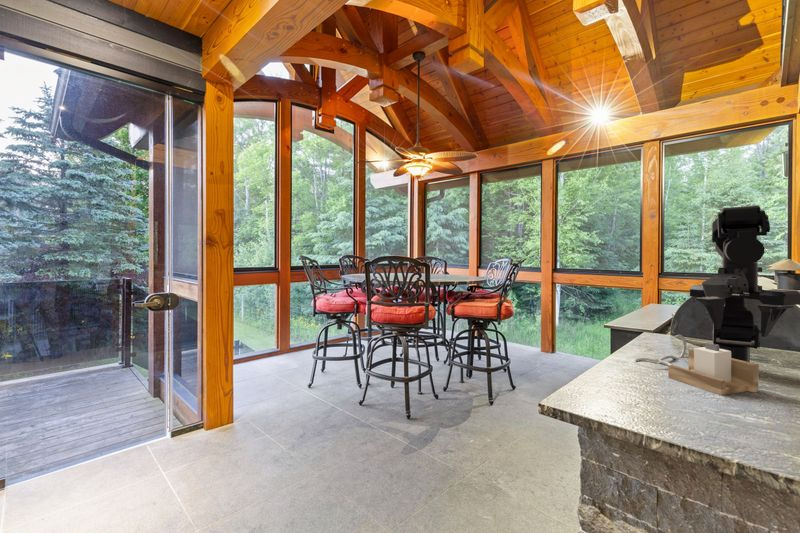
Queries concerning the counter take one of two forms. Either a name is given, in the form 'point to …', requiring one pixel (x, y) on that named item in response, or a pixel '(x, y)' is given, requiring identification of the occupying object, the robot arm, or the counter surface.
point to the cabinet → (713, 362)
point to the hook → (663, 357)
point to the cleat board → (741, 379)
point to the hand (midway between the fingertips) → (739, 332)
